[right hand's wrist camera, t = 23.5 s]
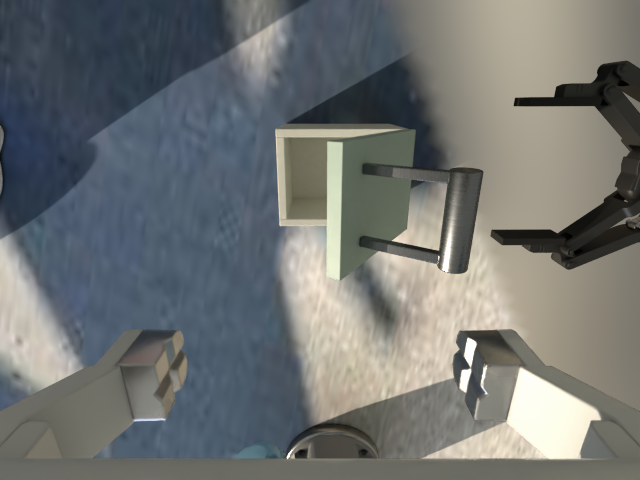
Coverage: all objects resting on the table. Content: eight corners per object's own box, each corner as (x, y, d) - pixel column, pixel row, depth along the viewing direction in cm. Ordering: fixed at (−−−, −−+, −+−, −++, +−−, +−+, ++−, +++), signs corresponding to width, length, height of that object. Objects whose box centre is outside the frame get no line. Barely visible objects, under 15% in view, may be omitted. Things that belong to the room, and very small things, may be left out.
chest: (287, 202, 43) (279, 226, 35) (284, 123, 40) (275, 128, 32) (384, 202, 43) (400, 225, 35) (389, 123, 40) (408, 128, 32)
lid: (326, 277, 25) (451, 313, 20) (327, 140, 21) (476, 149, 17) (396, 226, 35) (490, 244, 30) (403, 129, 32) (510, 132, 27)
